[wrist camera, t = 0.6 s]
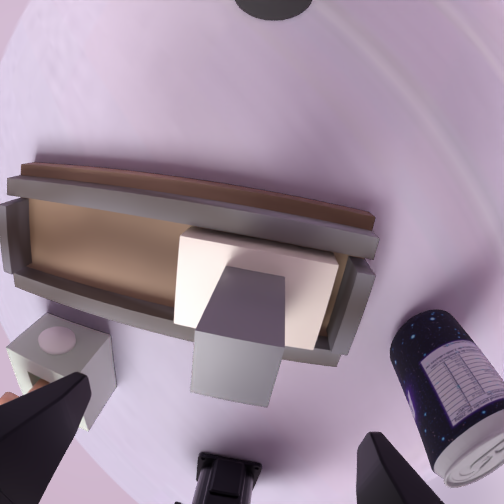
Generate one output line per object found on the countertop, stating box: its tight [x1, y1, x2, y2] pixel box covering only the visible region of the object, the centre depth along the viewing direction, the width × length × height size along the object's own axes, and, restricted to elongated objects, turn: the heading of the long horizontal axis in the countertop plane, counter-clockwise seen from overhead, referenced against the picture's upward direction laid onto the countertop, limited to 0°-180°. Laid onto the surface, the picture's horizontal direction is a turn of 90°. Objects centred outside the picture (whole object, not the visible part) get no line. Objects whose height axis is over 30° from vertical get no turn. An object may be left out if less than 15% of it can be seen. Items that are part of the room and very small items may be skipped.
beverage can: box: [390, 310, 504, 488], centre depth 15 cm, size 6×6×12 cm
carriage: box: [174, 226, 339, 407], centre depth 14 cm, size 5×8×8 cm, turn 81°
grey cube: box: [6, 313, 117, 432], centre depth 21 cm, size 6×7×6 cm
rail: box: [0, 162, 379, 367], centre depth 18 cm, size 10×24×4 cm, turn 80°
